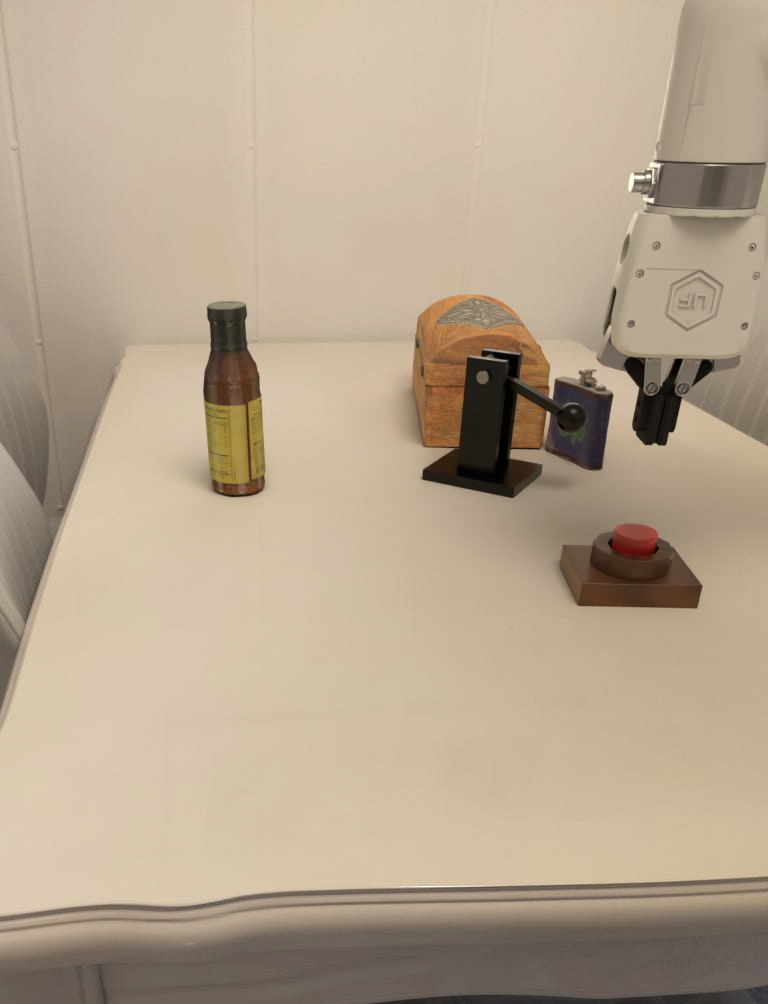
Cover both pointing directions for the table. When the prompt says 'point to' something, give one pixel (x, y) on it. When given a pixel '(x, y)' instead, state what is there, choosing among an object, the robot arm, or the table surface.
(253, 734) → the table surface
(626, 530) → the button
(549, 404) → the lever
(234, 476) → the sauce bottle
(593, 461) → the flask
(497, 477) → the bracket
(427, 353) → the wooden box
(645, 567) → the button block
